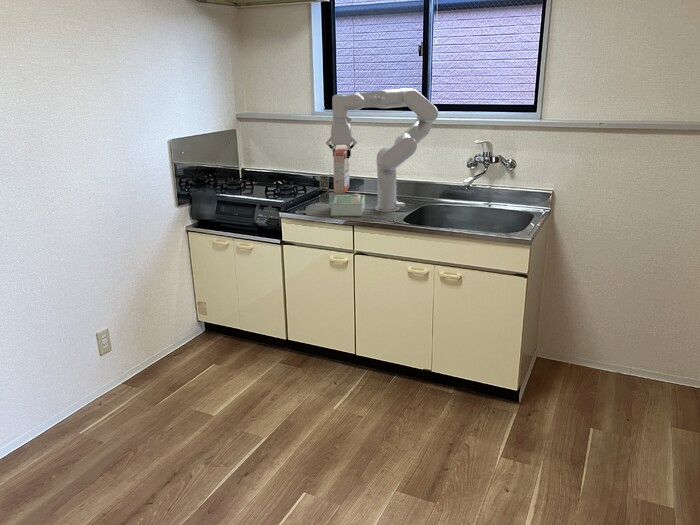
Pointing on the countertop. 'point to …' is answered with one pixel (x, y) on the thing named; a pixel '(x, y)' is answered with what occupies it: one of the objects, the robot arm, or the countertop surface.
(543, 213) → the countertop surface
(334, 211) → the tote
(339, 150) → the cracker box
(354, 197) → the jar
